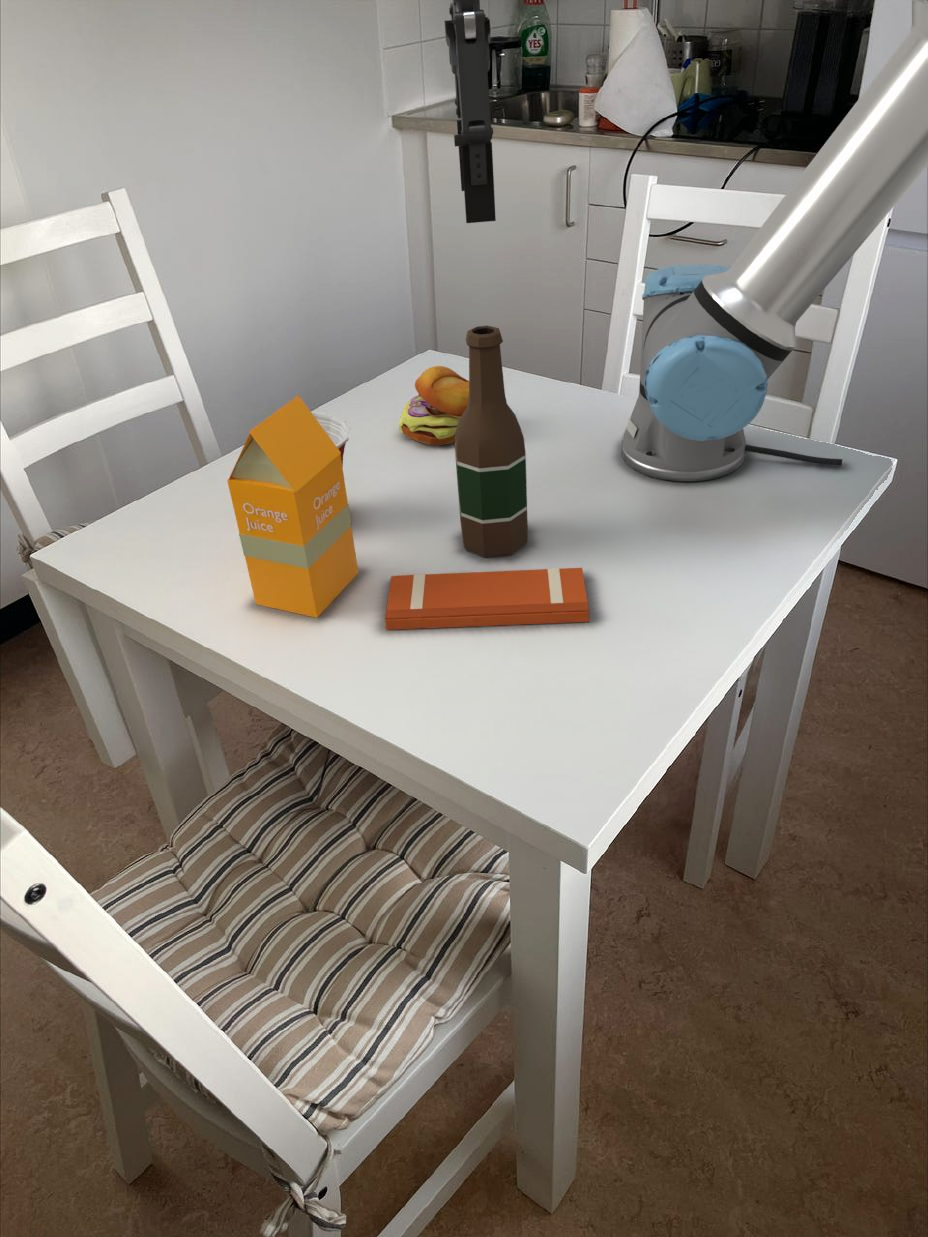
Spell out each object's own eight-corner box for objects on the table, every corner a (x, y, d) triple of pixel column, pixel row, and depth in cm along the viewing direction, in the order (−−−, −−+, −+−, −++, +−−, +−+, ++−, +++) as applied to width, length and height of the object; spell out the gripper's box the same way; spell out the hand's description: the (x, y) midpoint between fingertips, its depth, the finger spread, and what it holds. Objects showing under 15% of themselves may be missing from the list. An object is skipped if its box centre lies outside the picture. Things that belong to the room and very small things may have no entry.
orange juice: (254, 604, 99) (213, 426, 87) (299, 560, 105) (266, 390, 94) (318, 618, 96) (284, 437, 84) (360, 573, 102) (334, 398, 91)
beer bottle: (480, 567, 102) (466, 350, 88) (448, 535, 108) (430, 327, 94) (542, 546, 105) (538, 332, 91) (507, 516, 110) (499, 311, 96)
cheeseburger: (404, 416, 135) (415, 349, 129) (477, 433, 135) (491, 367, 129) (390, 446, 127) (401, 377, 121) (468, 465, 127) (483, 396, 121)
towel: (581, 576, 99) (582, 565, 98) (588, 622, 93) (589, 610, 92) (392, 584, 100) (391, 573, 99) (386, 630, 94) (384, 618, 93)
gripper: (418, -58, 91) (437, 180, 103) (417, -57, 71) (441, 240, 83) (496, -65, 91) (506, 174, 103) (517, -65, 71) (526, 233, 83)
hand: (477, 204), depth 93 cm, fingers open, 13 cm apart
